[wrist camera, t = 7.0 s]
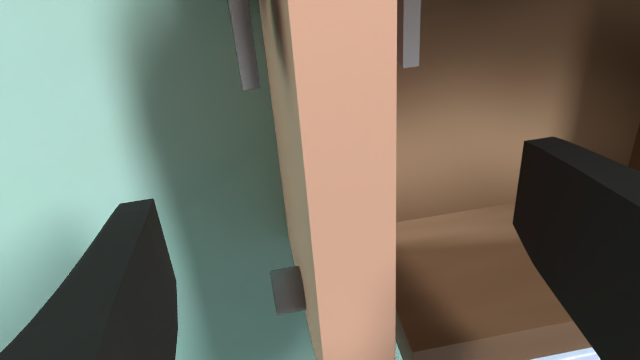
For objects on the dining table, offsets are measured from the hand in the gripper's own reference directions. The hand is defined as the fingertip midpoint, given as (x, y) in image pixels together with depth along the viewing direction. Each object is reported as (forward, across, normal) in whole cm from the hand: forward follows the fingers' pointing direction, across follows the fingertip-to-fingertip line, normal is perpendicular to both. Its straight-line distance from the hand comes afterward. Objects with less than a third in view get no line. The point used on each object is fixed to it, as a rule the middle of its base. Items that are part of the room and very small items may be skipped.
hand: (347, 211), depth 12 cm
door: (+6, 0, 0) cm, 6 cm away
